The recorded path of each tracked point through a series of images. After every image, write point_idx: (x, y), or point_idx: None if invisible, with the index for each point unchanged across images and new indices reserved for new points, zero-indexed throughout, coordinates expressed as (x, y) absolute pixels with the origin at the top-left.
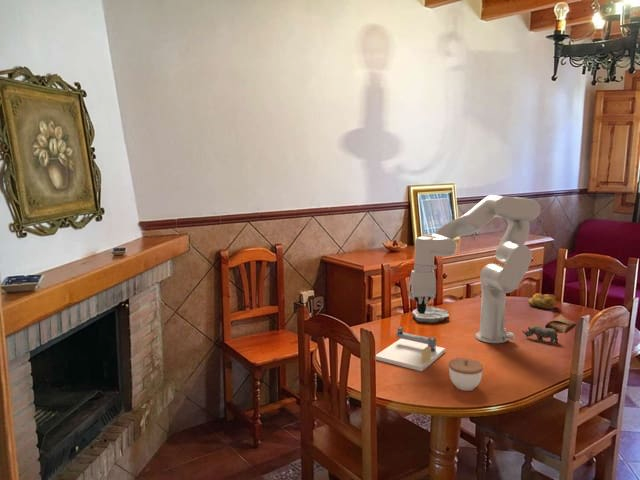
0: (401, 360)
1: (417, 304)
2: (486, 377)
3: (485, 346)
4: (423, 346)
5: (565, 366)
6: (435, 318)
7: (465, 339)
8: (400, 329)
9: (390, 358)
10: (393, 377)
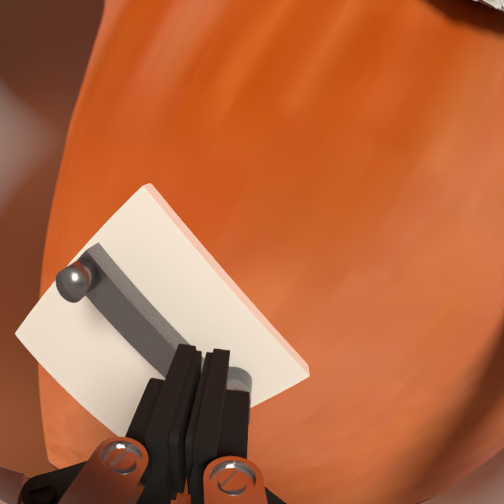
0: (87, 401)
1: (129, 426)
2: (299, 496)
3: (483, 345)
4: (216, 332)
5: (490, 458)
6: (481, 1)
7: (484, 257)
8: (70, 299)
9: (56, 374)
10: (68, 431)
